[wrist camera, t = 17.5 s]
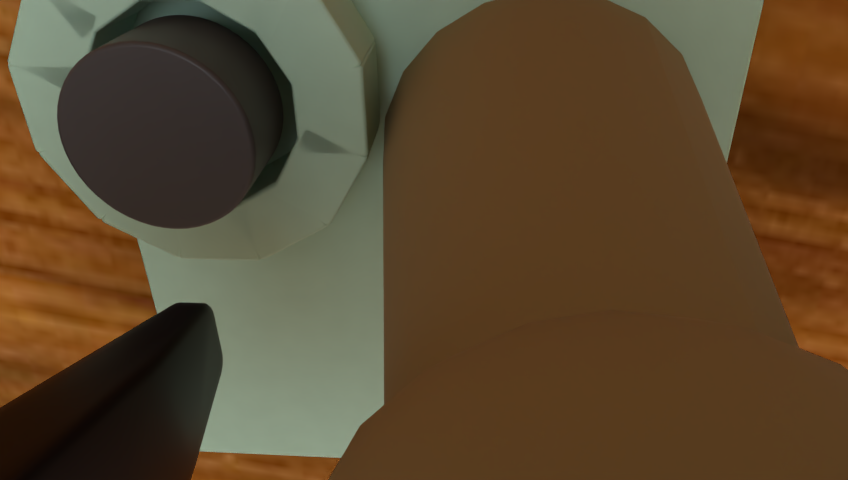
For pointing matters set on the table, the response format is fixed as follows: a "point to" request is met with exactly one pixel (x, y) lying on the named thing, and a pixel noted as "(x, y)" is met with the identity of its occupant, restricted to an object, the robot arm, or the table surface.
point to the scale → (311, 190)
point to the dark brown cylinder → (171, 121)
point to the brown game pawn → (578, 271)
